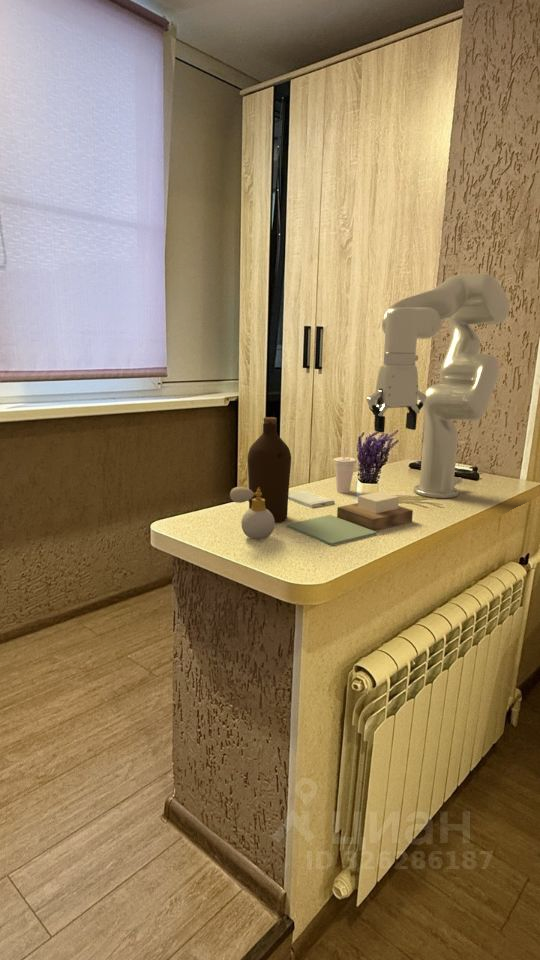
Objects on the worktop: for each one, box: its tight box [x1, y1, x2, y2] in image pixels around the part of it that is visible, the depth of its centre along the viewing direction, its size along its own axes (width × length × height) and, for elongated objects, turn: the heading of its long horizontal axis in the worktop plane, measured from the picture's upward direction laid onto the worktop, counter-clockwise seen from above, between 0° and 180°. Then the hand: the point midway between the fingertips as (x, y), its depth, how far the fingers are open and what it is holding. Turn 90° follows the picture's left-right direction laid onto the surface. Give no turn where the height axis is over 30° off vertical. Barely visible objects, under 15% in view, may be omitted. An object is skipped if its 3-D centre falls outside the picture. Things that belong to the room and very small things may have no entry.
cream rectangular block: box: [357, 491, 400, 514], centre depth 148 cm, size 8×6×3 cm
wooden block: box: [336, 502, 414, 532], centre depth 149 cm, size 14×12×3 cm
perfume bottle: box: [229, 486, 276, 541], centre depth 132 cm, size 8×10×12 cm
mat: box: [285, 514, 378, 547], centre depth 140 cm, size 14×16×1 cm
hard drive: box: [288, 489, 336, 509], centre depth 166 cm, size 2×8×12 cm
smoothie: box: [333, 444, 357, 494], centre depth 174 cm, size 6×6×14 cm
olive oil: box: [246, 416, 292, 524], centre depth 146 cm, size 11×11×25 cm
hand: (395, 430), depth 149 cm, fingers open, 9 cm apart
